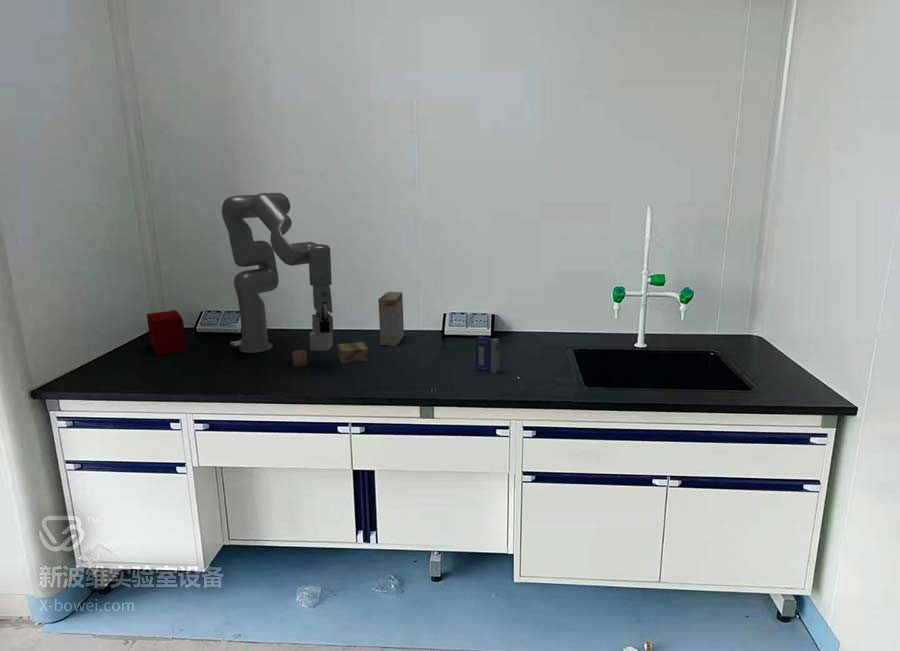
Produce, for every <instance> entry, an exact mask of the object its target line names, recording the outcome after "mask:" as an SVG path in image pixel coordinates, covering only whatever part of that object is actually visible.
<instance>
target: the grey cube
mask: <svg viewBox="0 0 900 651" xmlns="http://www.w3.org/2000/svg"><path fill="white" fill-rule="evenodd" d="M328 315H329V328H330V332H326V333H321V332H320V322H321V320H320V314H316V313H313V314H312V315H311V318H312V321H313V327H312V331H314V333H315V334H316V335H321V334H331V333H332V334H334V318H333V315H332V314H331V313H330V312H328ZM322 316H323V315H322Z"/></svg>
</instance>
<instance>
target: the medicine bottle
mask: <svg viewBox="0 0 900 651" xmlns="http://www.w3.org/2000/svg"><path fill="white" fill-rule="evenodd" d="M311 323H312V328H313V320H312V321H311ZM308 335H309V348H310V351H311V350H313V351H312V352H328V351H329V350H331V349H332V347H333V346H334V343H333V342H334V341H333V333H331V334H321V335H316V334H315V333H314V331H313V330H312V331H311V332H310V333H309V334H308Z"/></svg>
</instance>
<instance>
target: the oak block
mask: <svg viewBox="0 0 900 651" xmlns="http://www.w3.org/2000/svg"><path fill="white" fill-rule="evenodd" d="M337 354H338V355H337V356H338V359H339V362H340V364H341V363H343V364H351V363H350V362H353V363H362V362H361V361H364V362H369V348H368V347H367V345H366V343H365V341H358V342H349V343H348V342H345V343H337Z"/></svg>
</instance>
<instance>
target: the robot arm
mask: <svg viewBox="0 0 900 651" xmlns="http://www.w3.org/2000/svg"><path fill="white" fill-rule="evenodd" d="M221 205H222V206H221V215H222V219H223V222H224V225H225V227H226V231H227V232H228V237H229V242H230V248H231V254H232V258H233V261H234V263H235V265H236V266H237V267H241V268H248V267H254V266H255V267H256V266H258V268H253V269H247V270H243V271H240V272H238V273H237V274H236V275H235V277H234V278H233V285H234V286H233V287H234V291H235V292H236V297H237V301H238V308H239V316H240V328H241V329H240V330H241V336H242V337H241V338H240V339H238V340H236V341H235V340H232V341H230V346H231V347H234V348H237V347H238V349H239V352H242V353H246V354H254V353H255V354H256V353H262V352H267V351H270V350H272V348H273V344H272V342H269V339H268V327H267V318H266V317H267V316H266V306H265V303H264V300H263V299H262V298H261V296H260V295H259V294H262V293H268V292H272V291H274V290H276V289H277V288H278V286H279V279H280V278H279V272H278V267H277V266H278V265H277V261H276V257H278V258H279V259H280V261H282V262H283V263H284V264H285V265H287V266H291V267H293V266H300V265H306V264H307V265H308V274H309V285H310V286H311V287H312V303H313V308H314V310H315V314H320V320H321V322H320V332H321V333H326V332H330V328H329V315H328V313H329V314H332V313H333V302H332V291H331V285H332V283H333V282H332V279H333V278H332V258H331V255H332V254H331V248H330V245H328V244H323V243H320V244H319V243H316V242H313V241H305V242H295V243H290V242H289V241H288V240H287V239H286V238H285V237H284V235H285V234H287V232H289V230H290V229H291V227H292V225H293V224H292V223H293V221H292V218H291V217H290V216H289V215H288V214H289V213H290V211H291V201H290V200H289V197H287V195H285V194H283V193H281V192H261V193H257V194H241V195H233V196H229V197H227V198H226V199H224V201H223V202H222V204H221ZM253 218H254V219H255V218H258V219H259V220H260V221H261V222H262V223H263V225H264V226H265V227H266V229H268V231H270V237H269V238H270V243H269V242H268V241H265V240H254V237H253V236H254V235H253V231H252V228H251V226H250V225H249V223H247V222H246V221H245V219H253ZM275 254H276V255H277V256H275ZM322 315H323V316H322Z"/></svg>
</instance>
